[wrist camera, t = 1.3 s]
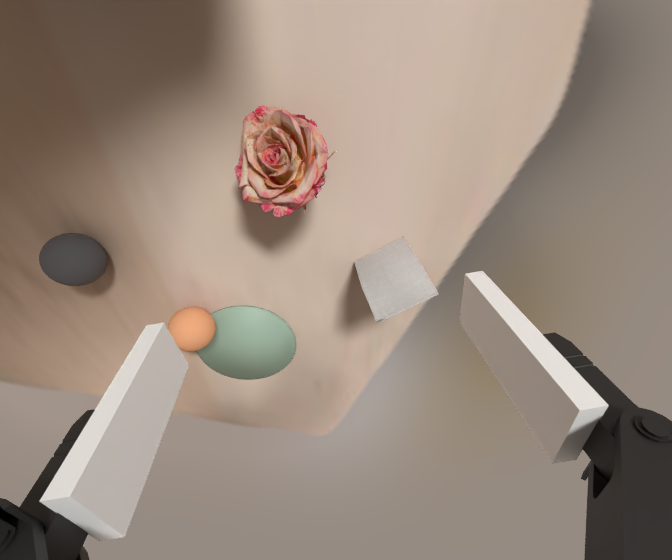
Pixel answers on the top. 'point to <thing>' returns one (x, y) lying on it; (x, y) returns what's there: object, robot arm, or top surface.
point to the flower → (281, 160)
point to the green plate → (249, 343)
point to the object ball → (192, 328)
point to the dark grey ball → (73, 259)
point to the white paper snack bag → (393, 279)
